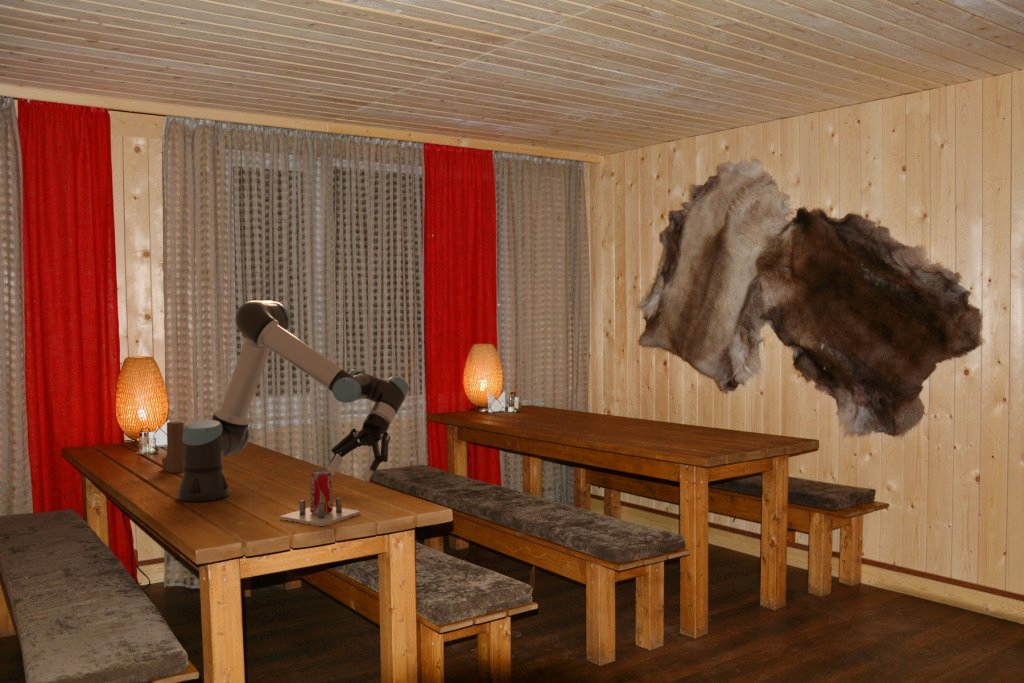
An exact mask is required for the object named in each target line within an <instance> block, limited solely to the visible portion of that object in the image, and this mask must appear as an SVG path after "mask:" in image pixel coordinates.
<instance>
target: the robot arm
mask: <svg viewBox="0 0 1024 683" xmlns="http://www.w3.org/2000/svg"><path fill="white" fill-rule="evenodd" d="M234 320H235V321H234V322H235V325H236V328H237V330H238V331H239V333H241V336H242V339H243V345H242V347H241V351H240V353H239V356H238V359H237V361H236V364H235V368H234V370H233V373H232V375H231V378H230V382H229V385H228V387H227V390H226V393H225V396H224V399H223V401H222V404H221V407H220V408H218V409H216V410H215V411H214V413H213V415H212V417H211V419H204V420H198V421H193V422H190V423H188V424H186V425H184V430H183V437H182V440H183V466H184V472H183V474H182V477H181V481H180V484H179V487H178V491H177V499H178V500H179V499H180V500H179V501H182V500H183V501H182V502H188V501H193V502H192V503H197V502H198V501H202V502H210V501H209V500H212V501H217V500H216V499H218V500H221V499H220V498H222V499H224V497H225V498H227V497H228V496H229V495H230V487H229V485H228V482H227V480H226V476H225V474H224V468H223V464H224V463H223V461H224V460H223V458H225V457H228V456H232V455H235V454H237V453H239V452H240V451H242V450H243V449H244V448H245V447H246V446H247V444H248V443H249V439H250V430H249V425H250V419H249V417H248V413H249V410H250V408H251V405H252V402H253V400H254V396H255V395H256V391H257V388H258V385H259V382H260V379H261V377H262V375H263V371H264V368H265V366H266V363H267V359H268V357H269V355H270V351H272V352H273V353H275V354H276V355H278V356H279V357H280V358H282V359H284V360H285V361H286V362H287V363H289V364H290V365H292V366H294V367H295V368H297V369H298V370H299V371H301V372H302V373H304V374H305V375H307V376H308V377H309V378H311V379H312V380H314V381H316V382H317V383H319V384H320V385H321V386H323V387H324V388H326V389H327V390H329V391H331V393H332V395H333V396H334V399H336V400H337V401H339V402H340V403H344V404H345V403H346V404H347V403H348V404H349V403H353V402H356V401H358V400H361V399H367V400H368V401H371V402H373V403H374V405H373V406H372V407H371V409H370V410H369V413H368V414H367V416H366V418H365V419H364V421H363V422H362V428H361V429H360V430H357V429H356V428H355V427H354V428H352V429H351V430H350V432H349V434H347V435H346V436H345V437H344V438H343V439H341V440H340V441H339V442H338V443H337V444H336V445H335V446H334V447H333V448H331V449H330V450H331V452H332V454H333V457H332V458H331V460H330V464H329V466H328V467H327V469H326V471H330V472H331V475H332V478H333V477H334V475H335V473H336V472H337V470H338V468H339V466H340V465H341V463H342V461H343V457H344V456H346V455H347V454H349V453H350V452H352V451H354V450H355V449H356V448H358V447H359V448H360V447H362V446H364V447H365V446H368V447H371V448H372V452H373V458H371V459H370V460H369V462H368V464H367V465H366V467H365V469H364V471H363V473H362V475H361V477H362V479H363V480H364V481H365V482H367V483H368V482H369V481H370V479H371V477H372V476H373V474H374V472H376V471H377V469H378V467H379V466H380V464H382V463H387V462H388V458H389V444H390V443H389V442H390V440H391V436H390V434H389V433H388V430H389V427H390V425H391V424H392V422H393V420H394V418H395V417H396V416H397V413H398V411H399V409H400V408H401V407H402V404H403V403H404V401H405V400H406V397H407V395H408V393H409V391H410V386H409V384H408V382H407V381H406V380H405V379H403V377H402V378H401V377H399V376H394V375H393V376H390V377H389V378H388V379H387V380H385V379H382V378H379V377H377V376H375V375H372V374H369V373H367V372H364V371H362V370H358V369H350V371H349V372H348V371H346V370H345V369H344V368H342V367H340V366H339V365H337V364H336V363H335V362H333V361H332V360H330V359H329V358H327V357H326V356H325V355H322V354H321V353H320V352H319V351H317V350H316V349H314V348H313V347H311V346H310V345H308V344H307V343H305V342H304V341H302V340H301V339H299V338H298V337H297V336H295V335H294V334H292V333H290V332H289V331H288V330H289V328H290V325H291V315H290V313H289V311H288V309H287V308H286V306H285V305H283V303H280V302H278V301H274V300H271V299H266V300H250V301H247V302H245V303H243V304H241V306H240V307H239V308H238V309H237V311H236V314H235V319H234ZM379 441H380V442H381V444H380V446H379ZM226 496H227V497H226ZM198 503H199V502H198Z"/></svg>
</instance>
